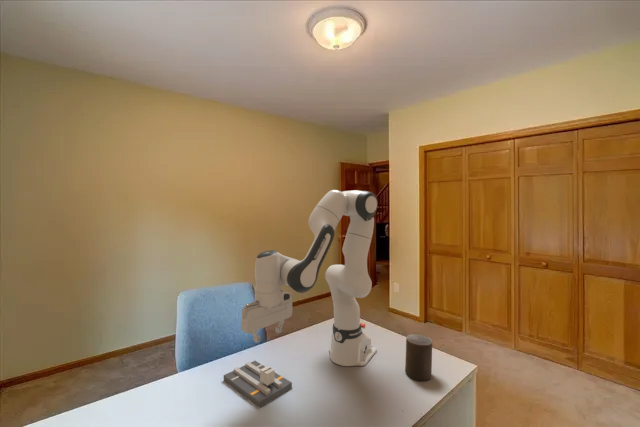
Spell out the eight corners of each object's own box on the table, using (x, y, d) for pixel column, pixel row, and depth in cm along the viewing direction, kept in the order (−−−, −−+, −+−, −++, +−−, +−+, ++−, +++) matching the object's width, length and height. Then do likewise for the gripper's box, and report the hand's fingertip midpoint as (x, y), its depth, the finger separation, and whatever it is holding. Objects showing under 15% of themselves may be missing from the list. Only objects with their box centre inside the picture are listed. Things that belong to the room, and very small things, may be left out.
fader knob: (267, 380, 105) (267, 365, 105) (274, 385, 103) (274, 369, 102) (260, 384, 103) (260, 369, 103) (267, 389, 100) (267, 373, 100)
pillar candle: (418, 384, 107) (419, 343, 107) (399, 370, 116) (400, 333, 116) (437, 377, 112) (438, 338, 111) (417, 365, 120) (418, 329, 120)
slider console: (254, 365, 119) (254, 357, 119) (291, 388, 105) (291, 379, 105) (223, 380, 109) (223, 372, 109) (259, 408, 94) (259, 398, 94)
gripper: (247, 307, 92) (248, 351, 93) (295, 292, 108) (295, 329, 108) (236, 303, 96) (237, 344, 97) (283, 289, 112) (283, 325, 112)
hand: (268, 336), depth 103 cm, fingers open, 8 cm apart
